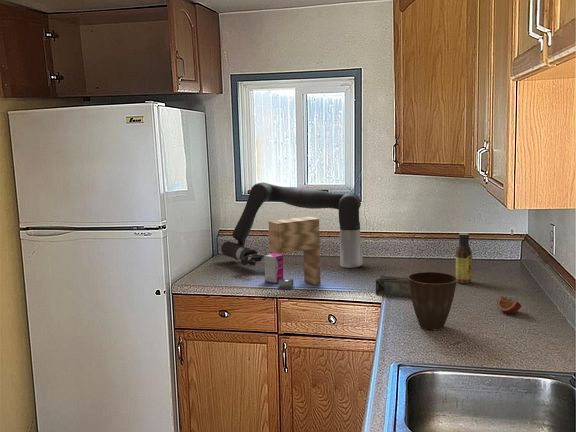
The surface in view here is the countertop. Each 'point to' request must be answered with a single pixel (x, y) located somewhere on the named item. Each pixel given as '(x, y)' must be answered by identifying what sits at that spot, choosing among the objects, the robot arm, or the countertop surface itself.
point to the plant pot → (432, 297)
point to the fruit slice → (508, 305)
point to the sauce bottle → (463, 260)
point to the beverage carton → (393, 286)
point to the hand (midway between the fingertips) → (263, 262)
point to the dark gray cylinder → (285, 283)
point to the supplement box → (273, 268)
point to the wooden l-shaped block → (298, 242)
